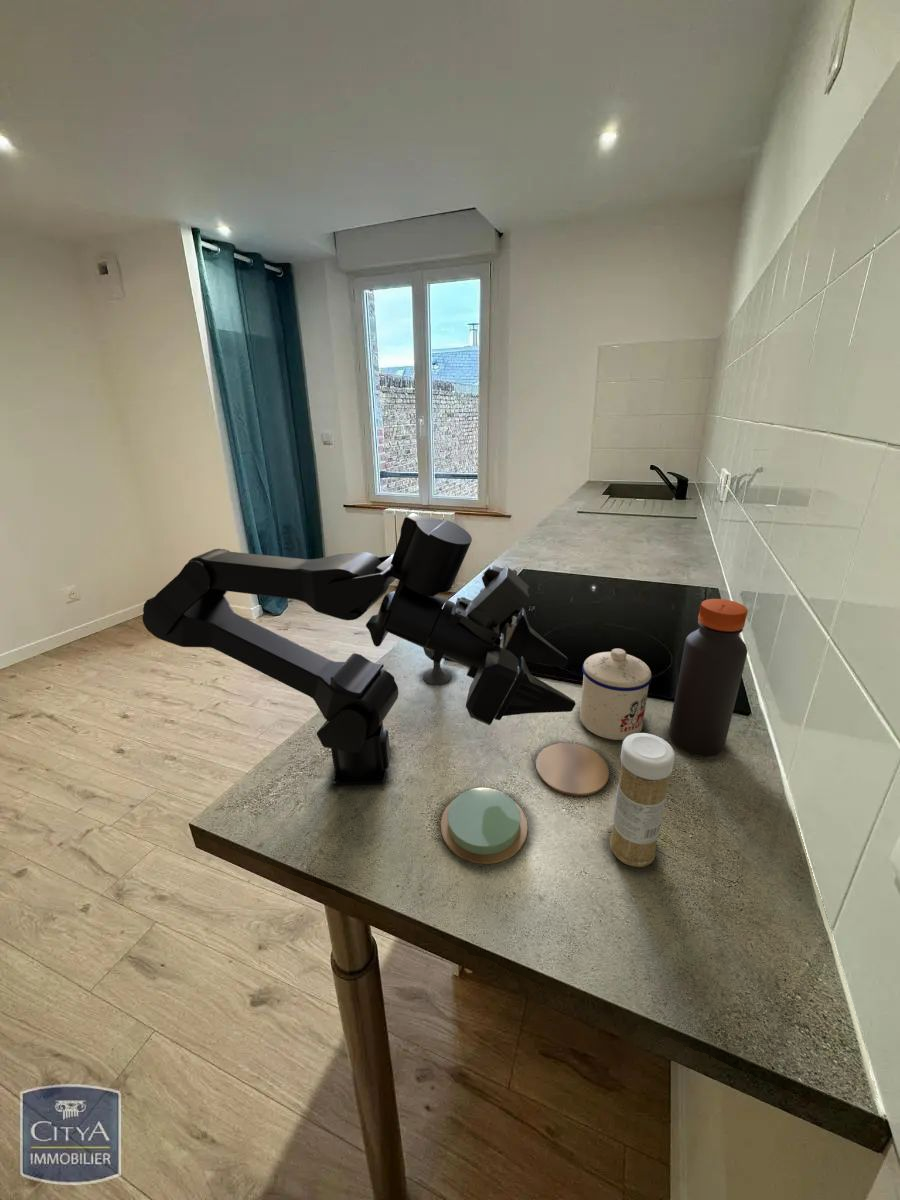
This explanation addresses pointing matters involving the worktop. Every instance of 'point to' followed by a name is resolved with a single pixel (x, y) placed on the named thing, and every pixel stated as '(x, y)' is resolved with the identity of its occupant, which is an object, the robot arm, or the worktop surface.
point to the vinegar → (709, 679)
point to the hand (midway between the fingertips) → (569, 682)
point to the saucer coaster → (478, 857)
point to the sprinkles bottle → (640, 798)
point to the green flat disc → (484, 821)
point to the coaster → (572, 769)
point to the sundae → (436, 672)
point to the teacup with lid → (614, 694)
